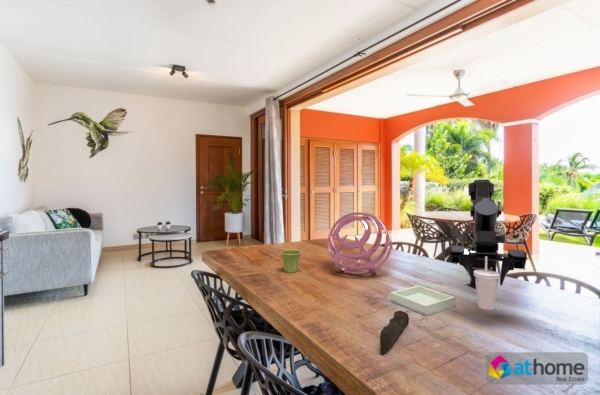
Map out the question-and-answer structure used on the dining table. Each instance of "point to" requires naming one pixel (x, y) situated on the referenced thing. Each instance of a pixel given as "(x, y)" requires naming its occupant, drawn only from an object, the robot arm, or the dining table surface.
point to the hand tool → (393, 330)
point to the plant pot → (291, 260)
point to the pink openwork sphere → (358, 244)
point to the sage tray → (423, 300)
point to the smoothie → (486, 287)
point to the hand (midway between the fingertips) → (486, 283)
